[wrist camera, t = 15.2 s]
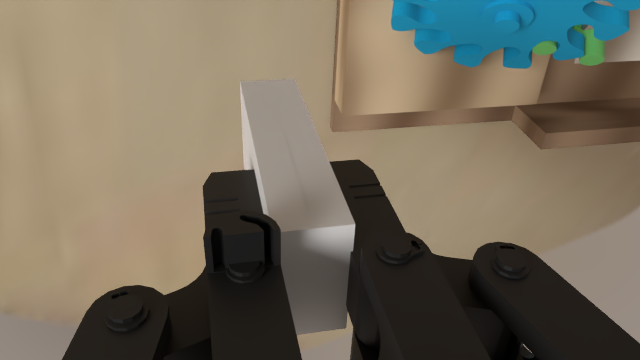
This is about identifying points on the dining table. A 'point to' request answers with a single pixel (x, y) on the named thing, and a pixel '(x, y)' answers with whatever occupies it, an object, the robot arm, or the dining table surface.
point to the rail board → (480, 85)
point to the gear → (514, 28)
